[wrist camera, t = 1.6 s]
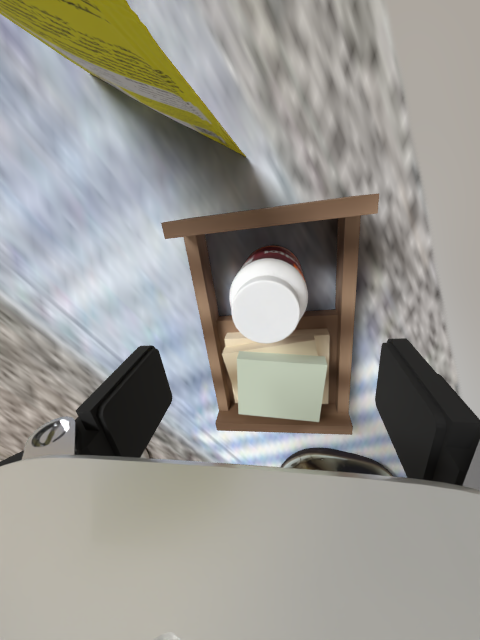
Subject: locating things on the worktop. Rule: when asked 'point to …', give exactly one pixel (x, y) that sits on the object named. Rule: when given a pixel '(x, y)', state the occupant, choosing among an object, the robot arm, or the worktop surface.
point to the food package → (117, 55)
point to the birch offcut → (319, 335)
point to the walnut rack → (335, 321)
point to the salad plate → (334, 462)
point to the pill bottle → (268, 295)
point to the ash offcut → (286, 346)
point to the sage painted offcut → (281, 385)
